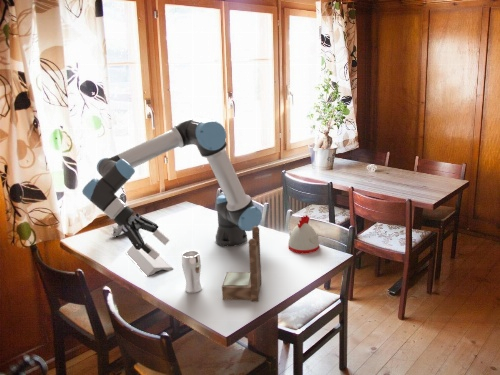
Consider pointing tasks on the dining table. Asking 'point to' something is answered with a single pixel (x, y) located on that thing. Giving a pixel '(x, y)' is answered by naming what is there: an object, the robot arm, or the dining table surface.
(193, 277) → the white tumbler cup
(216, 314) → the dining table surface
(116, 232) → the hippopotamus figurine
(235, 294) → the wooden l-shaped piece
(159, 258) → the crown molding
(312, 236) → the kitchen timer
